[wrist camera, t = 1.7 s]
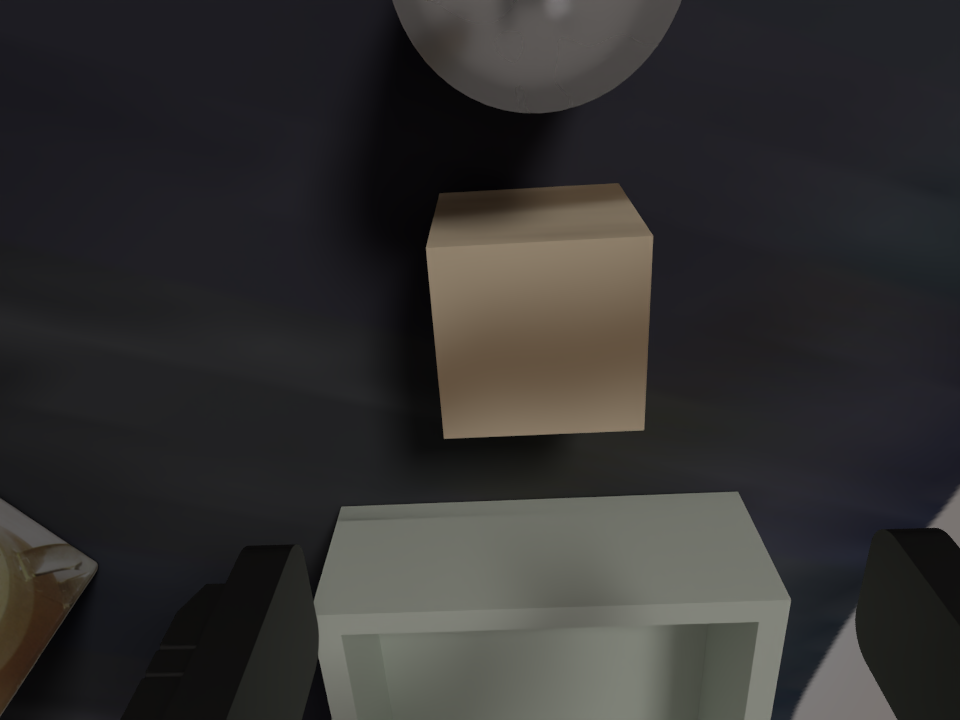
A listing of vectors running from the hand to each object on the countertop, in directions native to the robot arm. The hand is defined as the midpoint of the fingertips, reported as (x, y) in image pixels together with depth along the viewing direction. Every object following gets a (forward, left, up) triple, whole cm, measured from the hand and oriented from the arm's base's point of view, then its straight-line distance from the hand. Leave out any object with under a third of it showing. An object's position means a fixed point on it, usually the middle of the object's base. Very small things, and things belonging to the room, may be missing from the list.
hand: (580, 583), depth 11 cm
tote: (+17, 0, -13) cm, 21 cm away
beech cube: (0, 0, -13) cm, 13 cm away
